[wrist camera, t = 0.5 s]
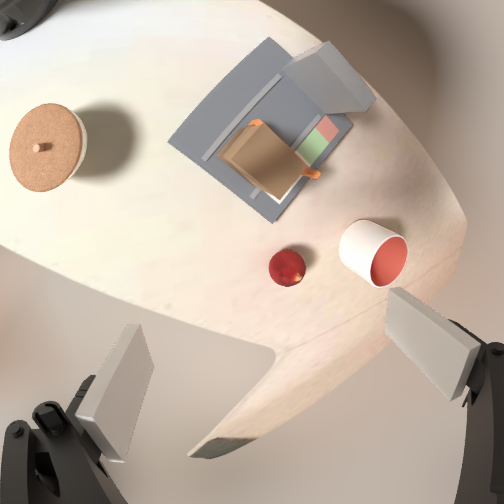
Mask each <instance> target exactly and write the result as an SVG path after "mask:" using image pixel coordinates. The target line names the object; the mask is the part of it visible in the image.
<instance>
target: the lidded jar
mask: <svg viewBox="0 0 504 504" xmlns="http://www.w3.org/2000/svg"><path fill="white" fill-rule="evenodd" d="M86 149H87V133H86V129H85V127H84V124H83V123H82V121H81V119H80V118H79V117H78V116H77V115H76V114H75V113H74V112H72V111H71V110H69V109H68V108H66V107H64V106H62V105H58V104H43V105H40V106H38V107H36V108H34V109H32V110H31V111H30V112H28V113H27V114H26V115H25V116H24V117H23V118H22V119H21V121H20V122H19V124H18V125H17V127H16V129H15V131H14V133H13V136H12V139H11V143H10V149H9V158H10V165H11V169H12V171H13V174H14V176H15V177H16V179H17V180H18V182H19V183H20V184H21V185H22V186H24V187H25V188H27V189H29V190H31V191H35V192H45V191H49V190H52V189H54V188H56V187H58V186H59V185H61V184H62V183H64V182H65V181H67V180H68V179H69V178H70V177H71V176H72V175H73V174H74V173H75V172H76V171H77V170H78V168H79V167H80V165H81V163H82V161H83V159H84V157H85V154H86Z"/></svg>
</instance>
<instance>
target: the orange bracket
mask: <svg viewBox="0 0 504 504" xmlns="http://www.w3.org/2000/svg"><path fill="white" fill-rule="evenodd" d="M262 123H263V122H262V121H261V120H260V119H256V120H252V121H251V122H250V123H249V124H248V125H247V126H248V127H251V126H257V125H261V124H262ZM267 127H268V126H267ZM268 128H269V127H268ZM269 129H270V128H269ZM270 130H271V129H270ZM271 131H272V130H271ZM272 132H273V131H272ZM285 144H286V143H285ZM286 145H287V144H286ZM287 146H288V145H287ZM288 147H289V146H288ZM289 148H290V147H289ZM290 149H291V148H290ZM291 150H292V149H291ZM292 151H293V150H292ZM293 152H294V151H293ZM294 153H295V152H294ZM295 154H296V153H295ZM296 155H297V154H296ZM297 156H298V155H297ZM298 157H299V156H298ZM299 158H300V157H299ZM300 159H301V158H300ZM301 160H302V159H301ZM302 161H303V160H302ZM303 162H304V161H303ZM304 163H305V162H304ZM305 164H306V163H305ZM306 165H307V164H306ZM301 175H304V176H307V177H311V178H314V179H318V177H319V176H320V175H321V173H320V172H319V171H316V170H312V169H310V168H309V166H308V165H307V168H306V169H305V170H304V171H303V172H302V174H301Z"/></svg>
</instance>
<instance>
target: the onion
mask: <svg viewBox="0 0 504 504" xmlns="http://www.w3.org/2000/svg"><path fill="white" fill-rule="evenodd" d="M305 270H306V266H305V263H304V260H303V258H302V257H301V256H300V255H299V254H298V253H297V252H294V251H292V250H283V251H280V252H278V253H276V254H275V255H274V256H273V257H272V259H271V260H270V264H269V273H270V276H271V278H272V279H273V280H274V281H275V282H276V283H277V284H279V285H282V286H285V287H290V286H293V285H296V284H298V283H299V282H300V281H301V280H302V279H303V277H304V275H305Z"/></svg>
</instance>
